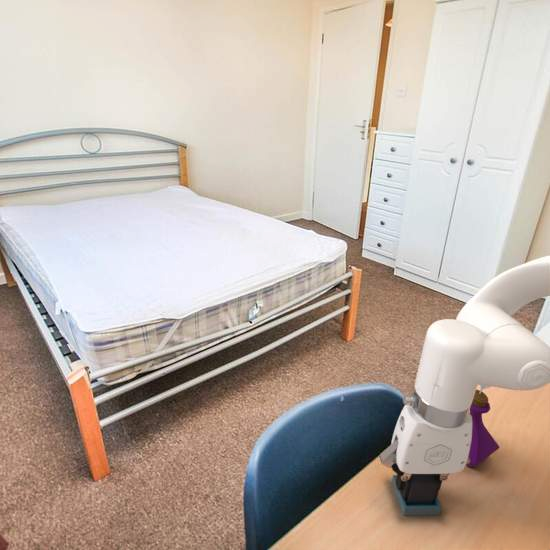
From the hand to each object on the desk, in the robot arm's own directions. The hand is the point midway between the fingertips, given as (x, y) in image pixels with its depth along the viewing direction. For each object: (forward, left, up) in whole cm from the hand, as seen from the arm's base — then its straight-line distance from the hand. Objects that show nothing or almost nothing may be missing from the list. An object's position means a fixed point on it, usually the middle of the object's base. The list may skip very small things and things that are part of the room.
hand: (416, 489), depth 62 cm
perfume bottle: (-11, -11, -2) cm, 15 cm away
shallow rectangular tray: (0, 0, -2) cm, 2 cm away
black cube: (0, 0, 0) cm, 0 cm away
